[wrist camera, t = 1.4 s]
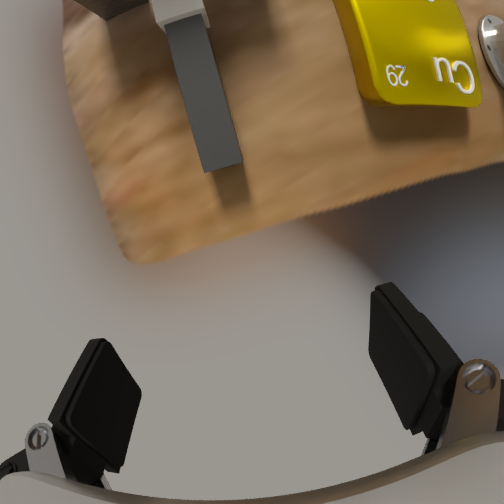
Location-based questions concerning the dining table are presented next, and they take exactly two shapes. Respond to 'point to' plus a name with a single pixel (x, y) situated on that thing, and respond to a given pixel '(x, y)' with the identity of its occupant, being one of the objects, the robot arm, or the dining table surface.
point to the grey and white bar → (199, 81)
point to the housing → (110, 6)
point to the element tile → (410, 52)
